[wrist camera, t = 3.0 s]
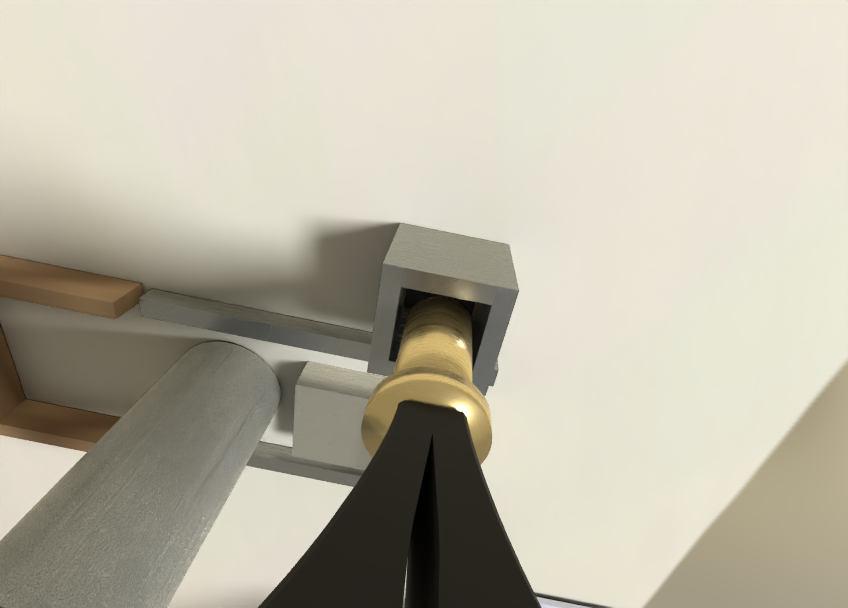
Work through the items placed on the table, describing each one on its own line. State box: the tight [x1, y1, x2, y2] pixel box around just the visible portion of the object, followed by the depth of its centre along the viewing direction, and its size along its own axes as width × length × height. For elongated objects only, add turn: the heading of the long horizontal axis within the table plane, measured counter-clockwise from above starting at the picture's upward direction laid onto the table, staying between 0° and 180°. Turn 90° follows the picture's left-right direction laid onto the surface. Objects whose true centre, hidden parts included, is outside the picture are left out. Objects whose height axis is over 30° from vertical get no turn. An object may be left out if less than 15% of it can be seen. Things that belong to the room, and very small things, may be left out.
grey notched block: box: [292, 361, 386, 470], centre depth 18 cm, size 7×4×3 cm, turn 80°
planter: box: [0, 342, 281, 608], centre depth 15 cm, size 4×4×10 cm
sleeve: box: [139, 289, 498, 487], centre depth 19 cm, size 14×8×1 cm, turn 80°
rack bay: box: [0, 255, 143, 452], centre depth 19 cm, size 7×8×2 cm
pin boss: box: [367, 223, 519, 396], centre depth 15 cm, size 4×5×4 cm
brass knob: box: [361, 296, 492, 465], centre depth 11 cm, size 3×3×5 cm
